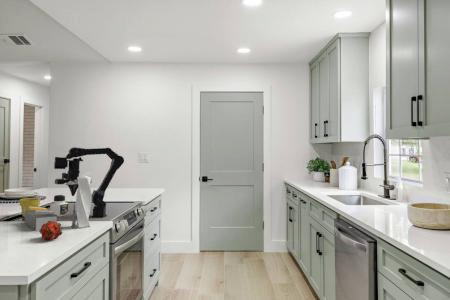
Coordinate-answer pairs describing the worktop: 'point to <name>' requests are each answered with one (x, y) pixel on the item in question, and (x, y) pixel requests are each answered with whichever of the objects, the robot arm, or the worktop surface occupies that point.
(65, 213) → the medicine bottle
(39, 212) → the rocker outlet
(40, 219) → the grey switch box
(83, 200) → the skyscraper
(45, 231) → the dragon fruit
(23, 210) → the plant pot
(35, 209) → the rocker outlet
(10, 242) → the worktop surface
